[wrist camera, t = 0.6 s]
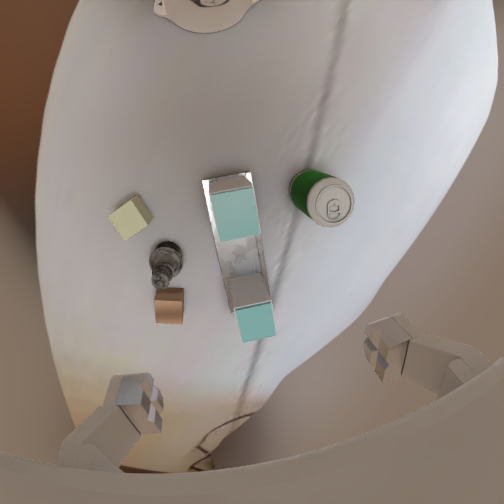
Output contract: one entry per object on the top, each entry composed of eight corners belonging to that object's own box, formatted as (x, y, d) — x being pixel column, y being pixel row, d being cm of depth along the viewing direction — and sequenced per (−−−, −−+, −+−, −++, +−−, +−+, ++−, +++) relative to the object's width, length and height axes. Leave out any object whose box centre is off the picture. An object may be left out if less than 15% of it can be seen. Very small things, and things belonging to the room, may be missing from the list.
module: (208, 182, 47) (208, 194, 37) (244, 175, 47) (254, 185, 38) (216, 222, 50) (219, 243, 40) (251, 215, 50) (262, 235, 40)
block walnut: (158, 286, 54) (154, 300, 49) (183, 287, 55) (181, 301, 50) (159, 308, 56) (156, 322, 51) (183, 309, 57) (182, 324, 52)
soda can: (288, 211, 52) (310, 232, 41) (286, 170, 49) (309, 180, 38) (327, 208, 53) (357, 227, 42) (326, 168, 50) (358, 177, 39)
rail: (202, 180, 48) (202, 181, 46) (248, 171, 48) (250, 172, 46) (230, 309, 58) (231, 315, 56) (269, 301, 59) (271, 306, 56)
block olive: (116, 209, 47) (107, 216, 43) (137, 193, 47) (130, 199, 42) (131, 231, 49) (124, 241, 45) (153, 217, 49) (148, 225, 44)
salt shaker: (185, 241, 51) (179, 270, 40) (182, 271, 53) (177, 305, 42) (153, 238, 50) (139, 266, 39) (152, 268, 52) (139, 301, 41)
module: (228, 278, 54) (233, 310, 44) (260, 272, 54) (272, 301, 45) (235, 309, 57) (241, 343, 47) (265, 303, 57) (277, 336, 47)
